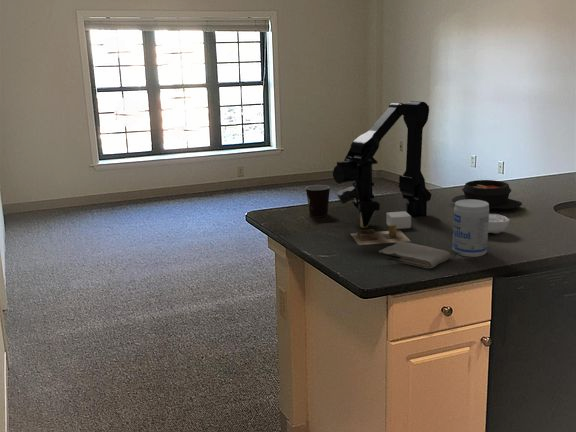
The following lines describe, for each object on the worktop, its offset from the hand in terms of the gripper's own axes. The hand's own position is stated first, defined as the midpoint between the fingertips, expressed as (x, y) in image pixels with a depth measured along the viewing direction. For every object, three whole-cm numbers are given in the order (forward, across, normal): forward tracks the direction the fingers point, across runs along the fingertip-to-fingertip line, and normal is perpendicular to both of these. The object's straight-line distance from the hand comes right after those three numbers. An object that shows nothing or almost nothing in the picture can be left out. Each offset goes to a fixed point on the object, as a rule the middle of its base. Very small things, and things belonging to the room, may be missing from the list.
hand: (364, 225), depth 208 cm
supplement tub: (+2, +30, +24) cm, 38 cm away
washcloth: (+2, +30, +8) cm, 31 cm away
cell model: (+2, +13, +37) cm, 39 cm away
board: (+2, +13, +2) cm, 13 cm away
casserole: (+2, -18, +49) cm, 52 cm away
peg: (+2, 0, 0) cm, 2 cm away
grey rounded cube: (+2, +2, +11) cm, 11 cm away
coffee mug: (+2, -25, -11) cm, 27 cm away
